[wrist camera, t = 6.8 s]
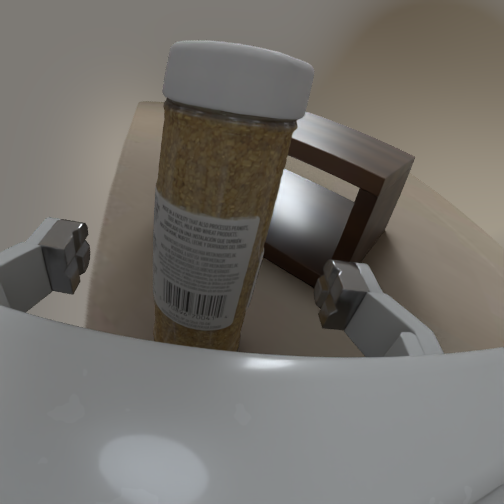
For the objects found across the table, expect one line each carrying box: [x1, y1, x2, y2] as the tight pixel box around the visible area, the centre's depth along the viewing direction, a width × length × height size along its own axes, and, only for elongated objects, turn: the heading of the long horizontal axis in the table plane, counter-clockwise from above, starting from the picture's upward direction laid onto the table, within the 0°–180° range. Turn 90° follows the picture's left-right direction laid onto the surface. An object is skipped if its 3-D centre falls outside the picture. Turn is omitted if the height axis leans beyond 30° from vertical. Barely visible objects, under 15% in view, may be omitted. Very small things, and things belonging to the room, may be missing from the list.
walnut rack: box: [263, 112, 415, 288], centre depth 27 cm, size 16×16×9 cm
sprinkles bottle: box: [153, 40, 314, 352], centre depth 12 cm, size 5×5×13 cm
